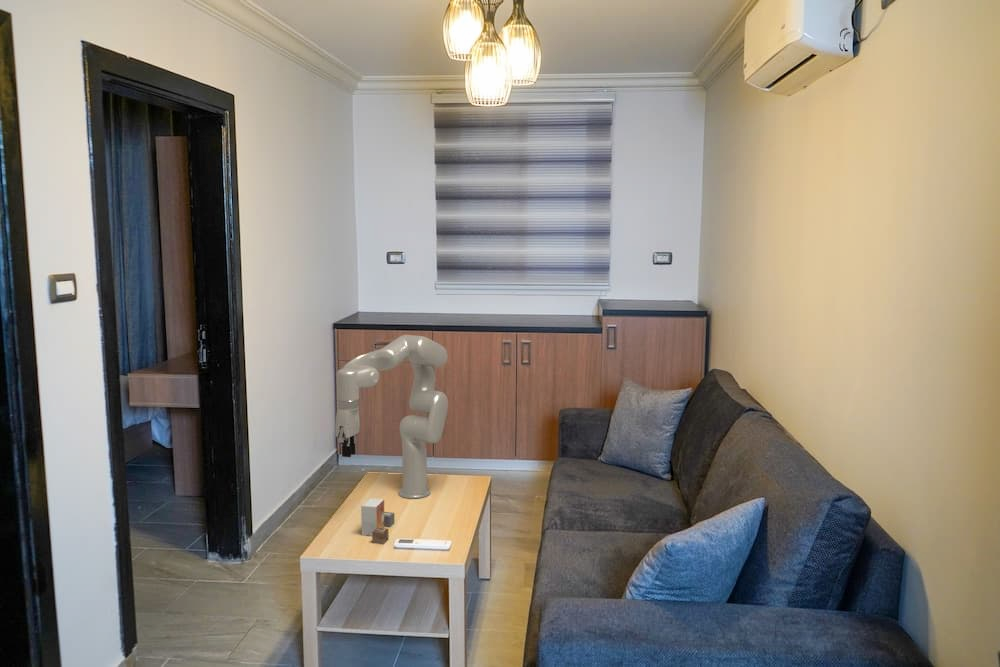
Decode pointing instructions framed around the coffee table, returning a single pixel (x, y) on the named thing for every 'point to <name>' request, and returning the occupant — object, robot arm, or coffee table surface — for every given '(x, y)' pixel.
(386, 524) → the digit one block
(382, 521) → the small box
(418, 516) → the coffee table surface
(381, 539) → the digit seven block
